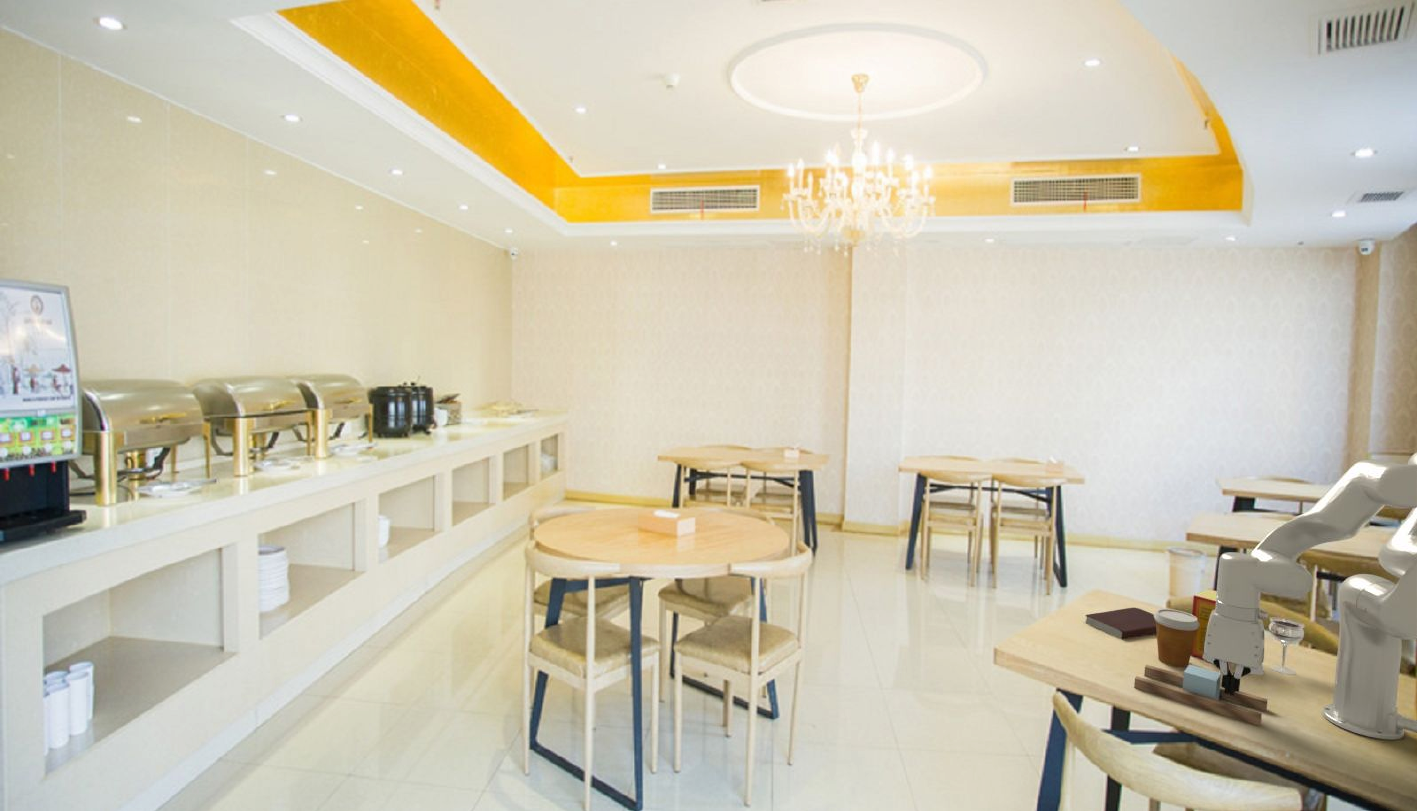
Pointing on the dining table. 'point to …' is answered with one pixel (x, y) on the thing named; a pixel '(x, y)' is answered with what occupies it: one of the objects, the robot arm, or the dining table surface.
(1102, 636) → the dining table surface
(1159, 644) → the disposable coffee cup
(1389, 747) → the dining table surface
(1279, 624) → the wineglass
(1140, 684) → the chute
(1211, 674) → the block
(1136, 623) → the book
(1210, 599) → the baking soda box
